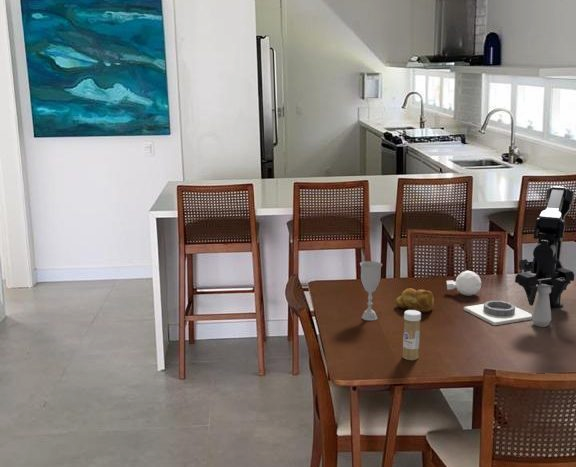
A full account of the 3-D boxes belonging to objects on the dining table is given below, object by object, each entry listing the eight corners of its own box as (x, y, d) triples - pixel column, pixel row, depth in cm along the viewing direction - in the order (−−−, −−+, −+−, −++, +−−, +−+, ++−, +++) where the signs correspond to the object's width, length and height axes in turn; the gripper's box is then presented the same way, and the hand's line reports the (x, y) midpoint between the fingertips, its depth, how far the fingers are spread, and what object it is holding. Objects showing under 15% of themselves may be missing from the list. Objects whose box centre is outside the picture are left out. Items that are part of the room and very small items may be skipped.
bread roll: (391, 310, 241) (392, 287, 239) (401, 301, 249) (402, 279, 247) (429, 316, 235) (430, 292, 233) (438, 307, 243) (439, 285, 241)
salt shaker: (551, 328, 224) (555, 288, 221) (532, 327, 225) (535, 287, 222) (549, 322, 229) (552, 283, 226) (530, 320, 230) (533, 282, 227)
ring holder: (502, 303, 247) (503, 295, 246) (534, 318, 232) (535, 309, 232) (463, 309, 241) (464, 301, 240) (494, 325, 226) (495, 316, 226)
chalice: (383, 316, 235) (385, 262, 230) (376, 322, 229) (378, 268, 224) (362, 312, 238) (363, 260, 233) (355, 319, 232) (356, 265, 227)
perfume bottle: (481, 286, 260) (447, 288, 263) (480, 264, 256) (445, 267, 258) (483, 300, 253) (448, 302, 256) (482, 278, 248) (446, 280, 251)
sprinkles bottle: (399, 358, 201) (401, 312, 198) (407, 353, 205) (409, 308, 202) (413, 362, 198) (415, 316, 195) (421, 357, 202) (424, 311, 199)
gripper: (552, 246, 233) (548, 292, 236) (505, 252, 226) (501, 299, 229) (577, 254, 223) (573, 302, 226) (529, 260, 216) (525, 310, 219)
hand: (542, 303), depth 226 cm, fingers open, 9 cm apart
